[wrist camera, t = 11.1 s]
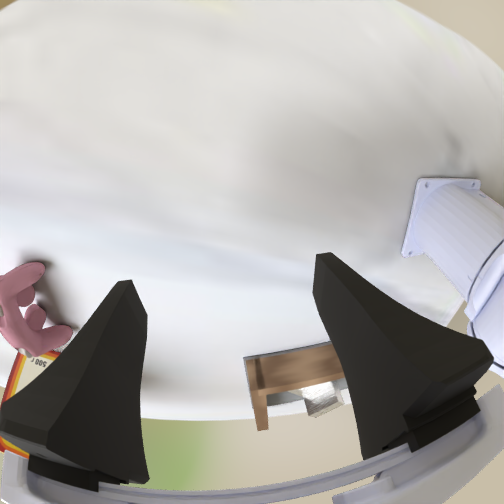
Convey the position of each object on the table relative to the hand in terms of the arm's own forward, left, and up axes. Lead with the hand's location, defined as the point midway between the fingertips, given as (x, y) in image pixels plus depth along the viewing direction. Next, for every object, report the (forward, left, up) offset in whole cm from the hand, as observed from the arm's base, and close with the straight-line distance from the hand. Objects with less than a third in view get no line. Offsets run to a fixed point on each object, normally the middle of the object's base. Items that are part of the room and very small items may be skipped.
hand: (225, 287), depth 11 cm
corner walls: (-9, +27, -9) cm, 30 cm away
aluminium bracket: (-8, +26, -9) cm, 29 cm away
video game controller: (+20, +7, -10) cm, 23 cm away
